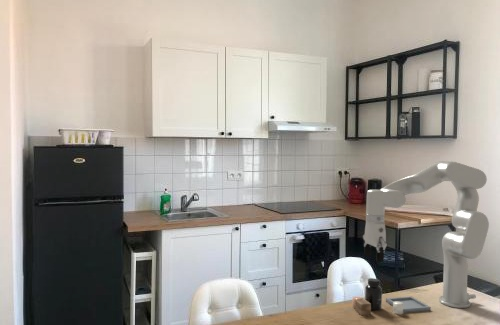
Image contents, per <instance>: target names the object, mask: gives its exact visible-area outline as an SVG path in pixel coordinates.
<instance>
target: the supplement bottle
mask: <svg viewBox="0 0 500 325" xmlns="http://www.w3.org/2000/svg"><path fill="white" fill-rule="evenodd" d="M380 282H381V280H379V279H378V278H373V277H372V278H368V280H367V285H366V286H365V289H364V290H365V292H364V300H366V301H368V302H369V303H371V311H380V310H381V309H382V301H383V288H382V287H381V283H380Z"/></svg>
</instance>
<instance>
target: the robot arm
mask: <svg viewBox="0 0 500 325" xmlns="http://www.w3.org/2000/svg"><path fill="white" fill-rule="evenodd" d="M487 180H488V179H487V174H486V173H485V172H484V171H483V170H481V169H480V168H477V167H476V168H475V167H472V166H470V165H465V164H463V163H461V162H457V161H447V160H446V161H443V160H442V161H437V162H435V163H432V164H431V165H429V166H428V167H427V166H426V167H425V168H424V169H422V170H420V171H418V172H416V173H415V174H412V175H409V176H406V177H404V178H400V179H398V180H396V181H393V182H391V183H389V184H387V185H385V186H384V187H382V188H380V189H369V190H367V192H366V206H365V207H366V208H365V209H366V210H365V227H364V234H363V235H362V239H363V240H362V241H363V247H364V248H363V250H364V251H363V252H364V253H363V255H364V257H371V256H372V251H373V250H372V248H373V247H374V248H375V249H376V255H375V257H376V258H375V262H377V263H384V260H385V251H386V249H387V245H388V244H387V232H386V224H385V214H386V213H385V210H386V207H387V208H394V209H399V208H401V207H402V206H405V204H406V200H407V198H406V195H411V194H412V195H413V194H420V193H425V192H426V191H429V190H430V189H432V188H433V187H435V186H438V185H439V184H441V183H442V182H451V183H452V185H453V186H454V188H455V190H456V195H457V198H456V203H455V205H454V209H453V210H454V211H453V213H452V215H451V216H452V217H451V224H452V226H453V228H456V229H458V230H461V231H464V233H462V232H458V231H448V232H446V233H444V235H443V237H442V239H441V246H442V252H443V277H442V278H443V280H442V284H443V285H442V295H441V296H439V297H438V302H439V303H441V304H442V305H445V306H447V307H450V308H456V309H458V308H459V309H467V308H469V307H471V301H470V299H471V300H472V299H476V298H477V295H476V294H475V293H470V294H469V293H468V274H469V273H468V272H469V271H468V268H469V267H468V266H469V265H468V260H475V259H477V258H478V257H479V256H480V255H481V254H482V252H483V249H484V246H485V243H486V238H487V236H488V233H489V228H490V221H489V219H488V216H487V215H486V214H484V212H481V211H478V207H479V202H480V197H479V196H480V195H479V193H478V189H482V188H484V187H485V185H486V184H487Z"/></svg>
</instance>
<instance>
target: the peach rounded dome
mask: <svg viewBox="0 0 500 325" xmlns="http://www.w3.org/2000/svg"><path fill="white" fill-rule="evenodd" d="M356 300H364V299H363V297H361V296H353V297H352V308H353V309H354V310H355V306H356Z"/></svg>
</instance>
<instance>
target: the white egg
mask: <svg viewBox="0 0 500 325" xmlns="http://www.w3.org/2000/svg"><path fill="white" fill-rule="evenodd" d="M392 313H393V314H394V315H403V314H404V313H403V303H402V302H398V301H395V302H393V306H392Z"/></svg>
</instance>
